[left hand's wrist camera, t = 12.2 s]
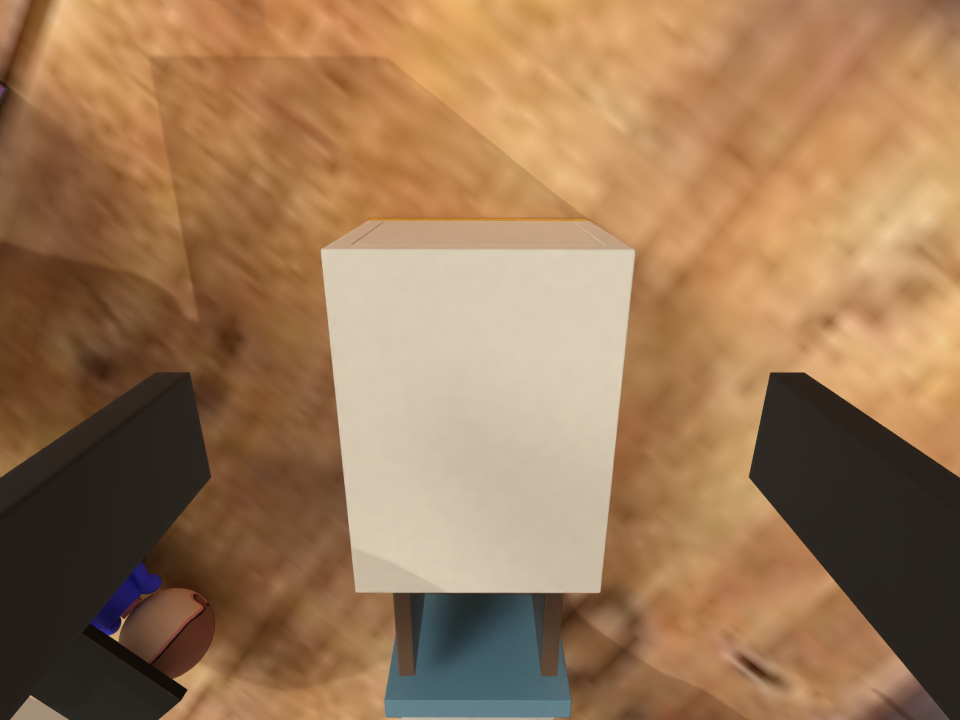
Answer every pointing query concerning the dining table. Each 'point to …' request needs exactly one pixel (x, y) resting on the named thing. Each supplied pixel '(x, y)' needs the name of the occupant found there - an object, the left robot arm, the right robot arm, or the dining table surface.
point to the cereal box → (2, 92)
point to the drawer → (478, 658)
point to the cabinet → (478, 399)
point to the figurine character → (131, 654)
